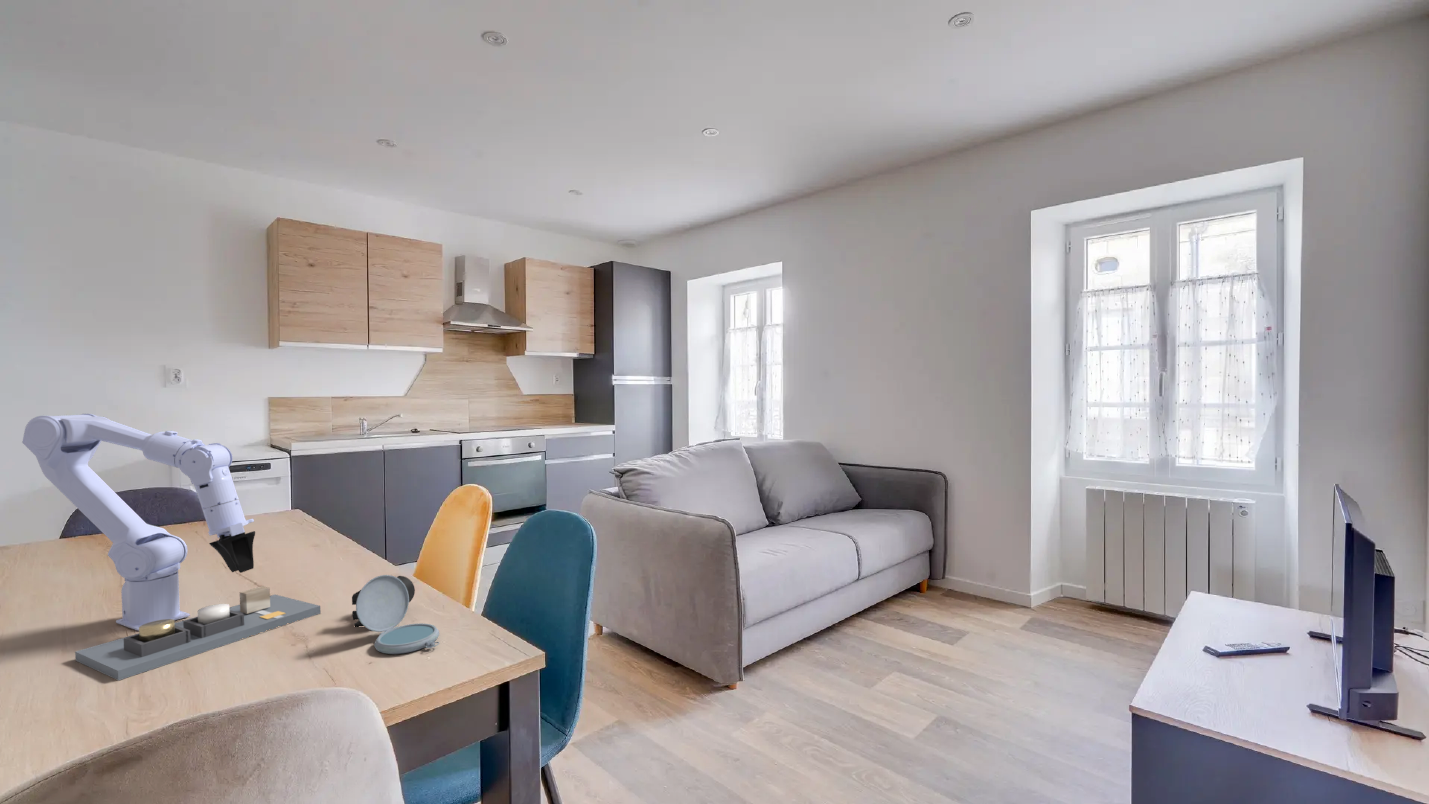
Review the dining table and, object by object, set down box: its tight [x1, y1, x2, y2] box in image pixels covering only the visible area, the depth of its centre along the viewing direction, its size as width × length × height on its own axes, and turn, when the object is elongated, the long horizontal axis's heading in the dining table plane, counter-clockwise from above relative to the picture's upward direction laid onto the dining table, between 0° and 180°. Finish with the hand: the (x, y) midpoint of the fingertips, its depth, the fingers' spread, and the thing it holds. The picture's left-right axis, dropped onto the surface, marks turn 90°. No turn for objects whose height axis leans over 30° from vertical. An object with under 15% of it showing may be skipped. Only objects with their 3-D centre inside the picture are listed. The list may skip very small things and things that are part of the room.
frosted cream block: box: [239, 585, 271, 614], centre depth 117 cm, size 2×4×4 cm, turn 153°
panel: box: [74, 594, 322, 681], centre depth 109 cm, size 16×30×4 cm, turn 153°
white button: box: [197, 603, 230, 624], centre depth 108 cm, size 4×4×2 cm
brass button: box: [138, 619, 176, 641], centre depth 101 cm, size 4×4×2 cm
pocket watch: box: [355, 574, 440, 655], centre depth 104 cm, size 10×11×15 cm
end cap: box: [351, 575, 416, 628], centre depth 116 cm, size 10×7×7 cm
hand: (242, 570), depth 118 cm, fingers open, 7 cm apart
